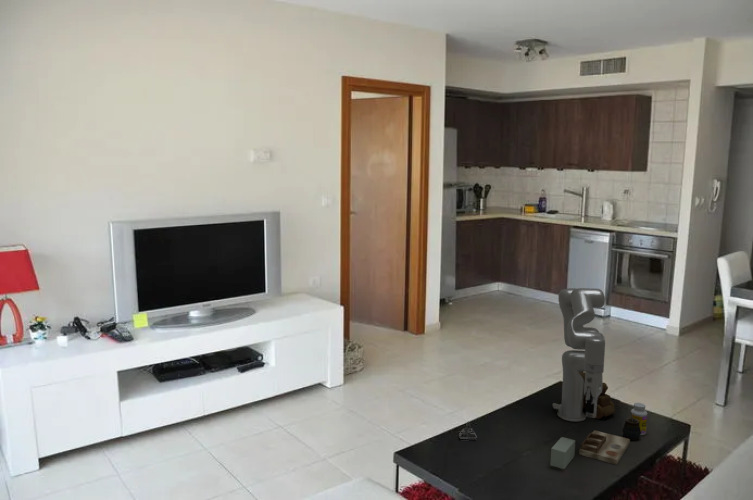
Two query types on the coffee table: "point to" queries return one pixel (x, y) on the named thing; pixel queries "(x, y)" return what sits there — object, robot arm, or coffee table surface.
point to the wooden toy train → (601, 401)
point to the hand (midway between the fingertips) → (591, 410)
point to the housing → (562, 452)
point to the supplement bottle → (640, 416)
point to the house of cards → (470, 434)
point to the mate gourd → (631, 428)
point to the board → (604, 447)
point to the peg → (594, 409)
